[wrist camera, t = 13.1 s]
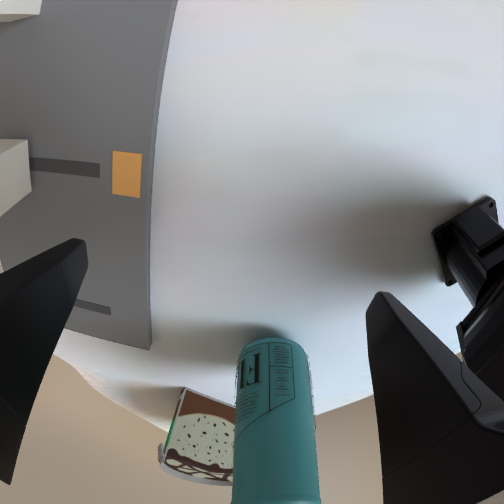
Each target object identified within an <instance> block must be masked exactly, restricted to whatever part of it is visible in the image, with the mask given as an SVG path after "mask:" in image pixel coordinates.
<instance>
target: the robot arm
mask: <svg viewBox="0 0 504 504" xmlns="http://www.w3.org/2000/svg"><path fill="white" fill-rule="evenodd" d="M490 203H491V204H490ZM489 204H490V205H489ZM438 233H439V235H438V236H437V234H438ZM432 239H433V242H434V246H435V249H436V253H437V256H438V260H439V264H440V268H441V272H442V276H443V280H444V283H445V284H446V286H451V285H453V284H455V283H457V282H458V284H459V285H460V287H461V288H462V290H463V291H464V293H465V295H466V296H467V298H468V299H469V301H470V303H471V304H472V306H473V309H472V310H471V311H470V312H469V314H468V315H467V316H466V317H465V319H464V320H463V321H462V322H460V323H459V324H458V325H457V326H456V329H457V334H458V339H459V343H460V348H461V353H462V358H463V362H462V361H461V362H460V359H459V358H458V357H457V356H456V355H455V354H454V353H453V352H452V351H451V350H450V349H449V348H448V347H447V346H446V345H445V344H444V343H443V342H442V341H441V340H440V339H439V338H438V337H437V336H436V335H435V334H433V333H432V332H431V331H430V330H429V329H428V328H427V327H426V326H425V325H424V324H423V323H422V322H421V321H420V320H419V319H418V318H417V317H416V316H415V315H414V314H412V313H411V312H410V311H409V310H408V309H407V308H406V307H405V306H404V305H403V304H402V303H401V302H400V301H398V300H397V299H396V298H395V297H394V296H393V295H392V294H391V293H389V292H382V291H379V292H377V293H376V294H375V296H374V298H373V300H372V302H371V303H370V305H369V307H368V309H367V311H366V329H367V344H368V358H369V365H370V371H371V378H372V385H373V392H374V399H375V406H376V415H377V423H378V432H379V443H380V453H381V464H382V465H381V466H382V476H383V478H382V483H383V504H504V229H503V228H502V227H501V226H500V225H499V223H498V215H497V208H496V202H495V200H494V199H493V198H491V197H488V198H486V199H485V200H483V201H482V202H480V203H478V204H477V205H475V206H473V207H472V208H470V209H468V210H466V211H465V212H463V213H461V214H460V215H458V216H456V217H455V218H453V219H451V220H449V221H448V222H446V223H444V224H442V225H441V226H439V227H437V228H435V229H434V230H433V231H432ZM87 269H88V254H87V246H86V242H85V241H84V240H83V239H78V238H71V239H69V240H67V241H65V242H63V243H60V244H58V245H56V246H54V247H52V248H50V249H48V250H46V251H44V252H42V253H40V254H38V255H36V256H34V257H32V258H30V259H28V260H26V261H24V262H22V263H20V264H18V265H16V266H14V267H12V268H11V269H9V270H7V271H5V272H3V273H1V274H0V480H1V481H3V482H5V483H6V484H8V485H10V484H11V481H12V476H13V472H14V468H15V464H16V460H17V456H18V453H19V449H20V445H21V441H22V438H23V435H24V432H25V428H26V425H27V421H28V418H29V415H30V412H31V409H32V406H33V403H34V400H35V398H36V395H37V392H38V390H39V387H40V384H41V382H42V379H43V376H44V374H45V371H46V369H47V366H48V364H49V361H50V359H51V356H52V354H53V352H54V349H55V347H56V345H57V342H58V340H59V338H60V336H61V333H62V331H63V329H64V327H65V325H66V322H67V320H68V318H69V316H70V314H71V312H72V309H73V307H74V304H75V301H76V299H77V296H78V293H79V290H80V288H81V285H82V282H83V280H84V277H85V275H86V272H87ZM449 280H450V281H449Z"/></svg>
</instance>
